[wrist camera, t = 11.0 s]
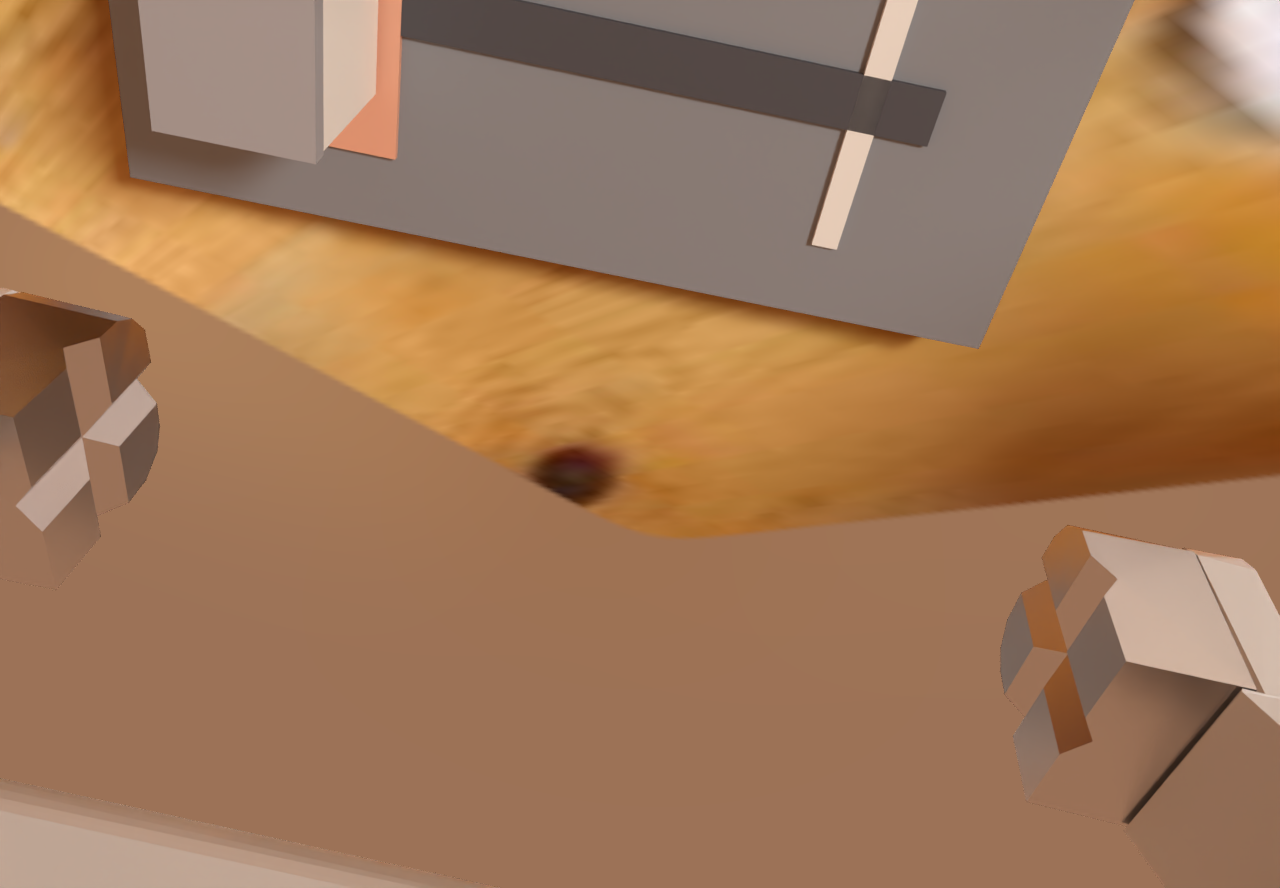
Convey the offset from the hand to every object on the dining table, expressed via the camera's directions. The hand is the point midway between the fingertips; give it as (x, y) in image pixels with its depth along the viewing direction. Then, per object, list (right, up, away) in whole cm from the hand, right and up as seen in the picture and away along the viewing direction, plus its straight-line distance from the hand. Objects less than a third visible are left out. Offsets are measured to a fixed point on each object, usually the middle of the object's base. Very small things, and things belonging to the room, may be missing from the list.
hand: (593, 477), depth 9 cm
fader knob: (-9, +13, +19) cm, 25 cm away
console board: (-1, +13, +22) cm, 26 cm away
